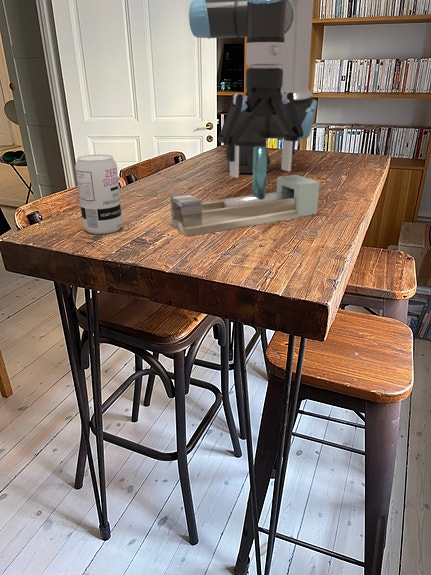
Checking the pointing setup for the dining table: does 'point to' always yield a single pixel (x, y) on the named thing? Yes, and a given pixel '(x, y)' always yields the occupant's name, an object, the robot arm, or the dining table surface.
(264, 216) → the rail
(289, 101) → the robot arm
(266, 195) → the sliding bolt
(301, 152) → the dining table surface
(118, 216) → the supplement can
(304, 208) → the socket
